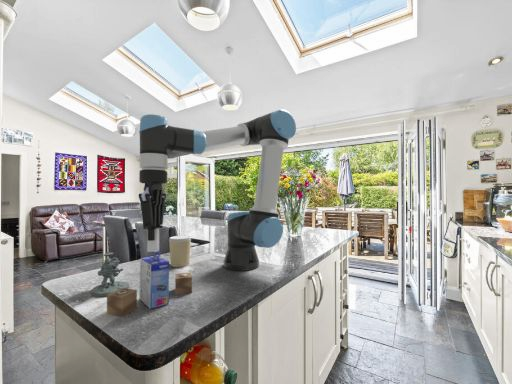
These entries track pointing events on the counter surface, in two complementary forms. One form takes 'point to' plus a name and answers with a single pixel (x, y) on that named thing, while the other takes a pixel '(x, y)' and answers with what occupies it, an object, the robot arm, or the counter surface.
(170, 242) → the coffee cup
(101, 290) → the figurine
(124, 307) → the walnut cube
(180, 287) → the walnut cube
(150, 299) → the ink cartridge box
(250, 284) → the counter surface
